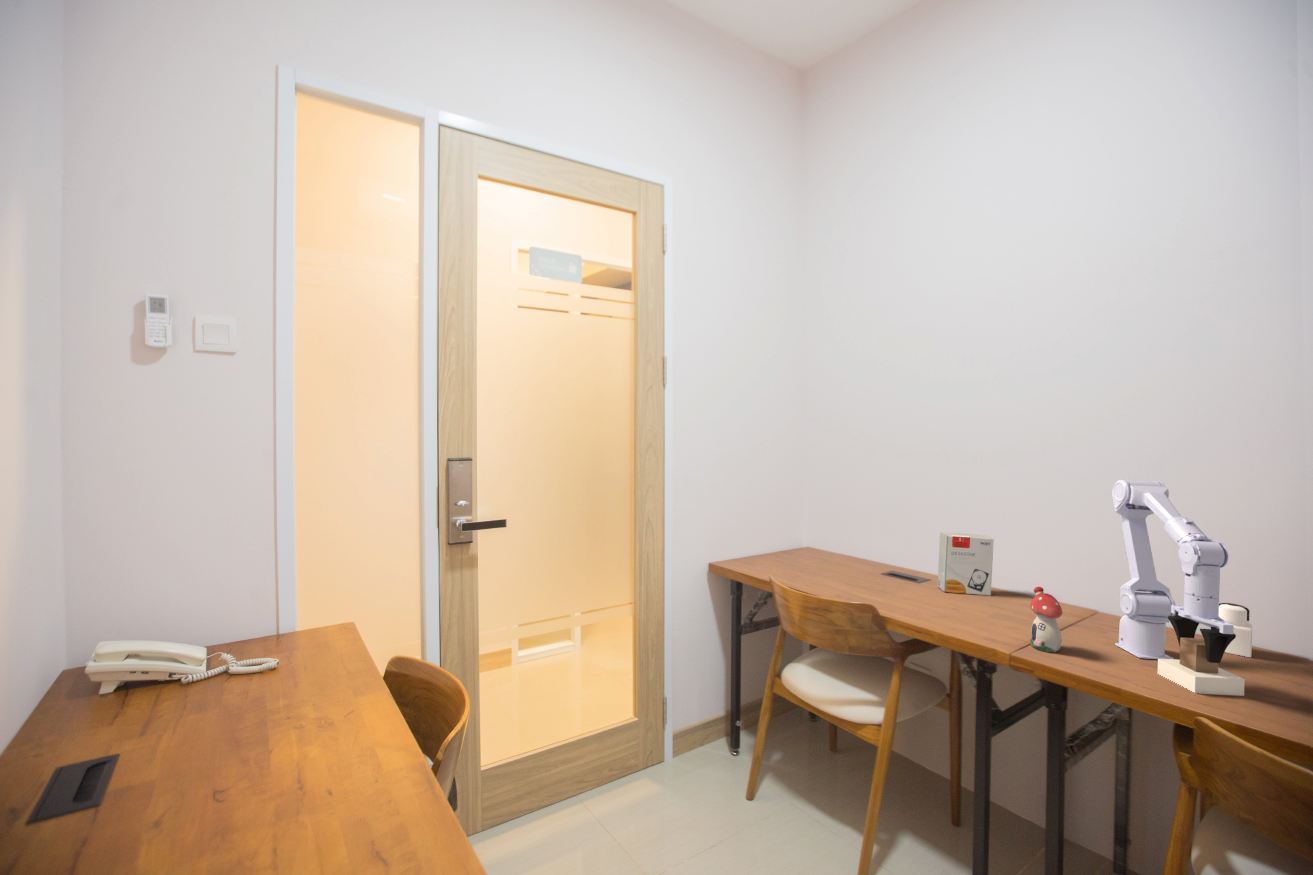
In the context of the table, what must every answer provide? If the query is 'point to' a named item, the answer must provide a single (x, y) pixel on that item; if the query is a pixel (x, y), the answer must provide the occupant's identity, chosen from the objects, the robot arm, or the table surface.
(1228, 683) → the ceramic base
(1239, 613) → the medicine bottle
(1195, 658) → the walnut block
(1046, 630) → the decorative ornament
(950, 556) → the hard drive box
